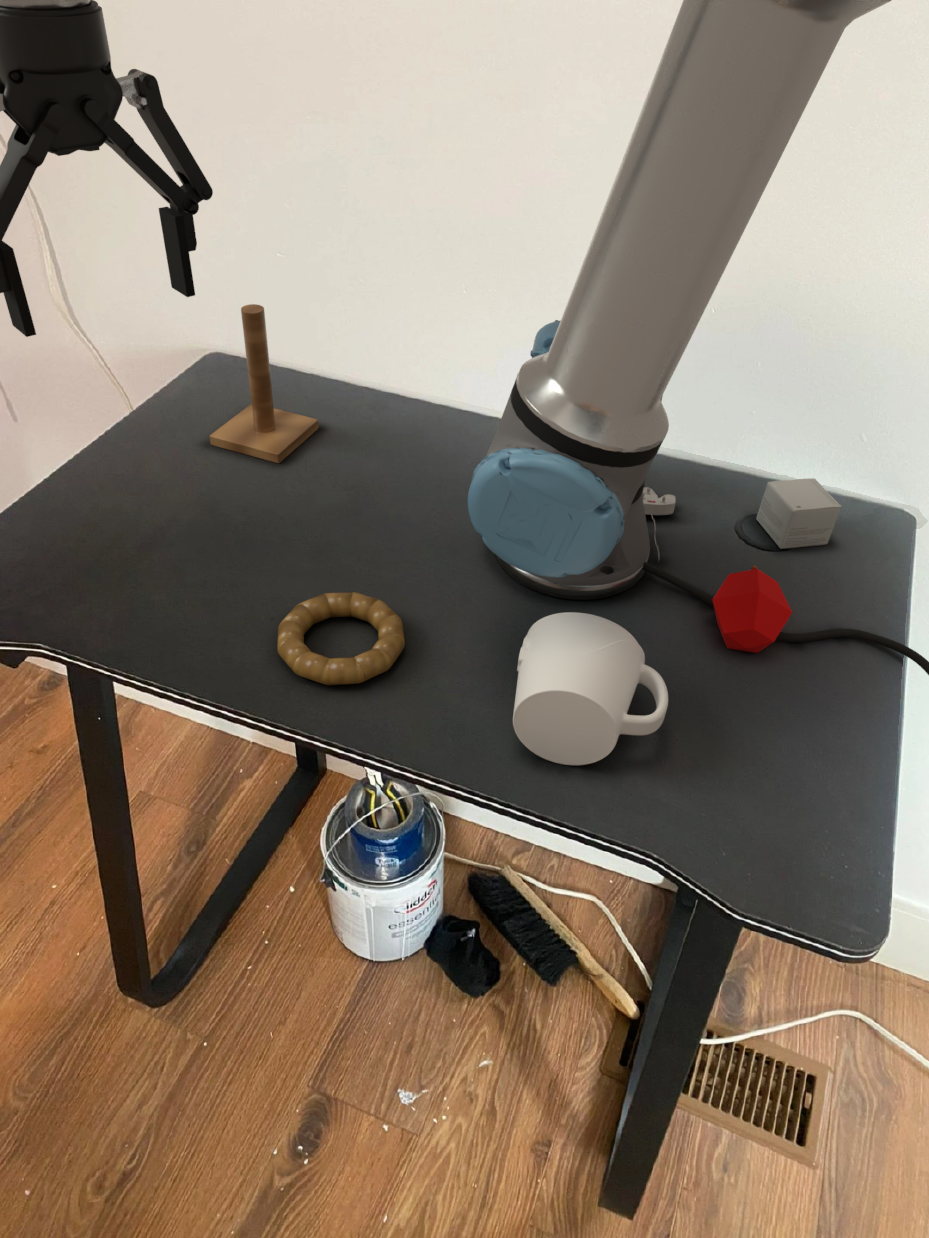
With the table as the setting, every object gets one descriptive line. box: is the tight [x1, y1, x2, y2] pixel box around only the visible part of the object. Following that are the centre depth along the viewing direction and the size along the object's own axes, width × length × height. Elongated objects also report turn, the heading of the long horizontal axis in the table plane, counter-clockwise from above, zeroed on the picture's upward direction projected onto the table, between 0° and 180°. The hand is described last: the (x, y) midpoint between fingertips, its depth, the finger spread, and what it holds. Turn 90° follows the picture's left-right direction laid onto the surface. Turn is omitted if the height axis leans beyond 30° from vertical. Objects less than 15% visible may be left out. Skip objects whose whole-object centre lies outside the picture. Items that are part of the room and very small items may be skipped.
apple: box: [712, 565, 793, 654], centre depth 82 cm, size 7×7×8 cm
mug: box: [512, 611, 669, 766], centre depth 72 cm, size 12×9×8 cm
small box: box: [755, 477, 843, 550], centre depth 95 cm, size 6×6×5 cm
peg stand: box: [209, 303, 320, 464], centre depth 102 cm, size 9×9×15 cm
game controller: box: [642, 486, 677, 563], centre depth 96 cm, size 6×12×3 cm, turn 15°
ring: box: [276, 591, 406, 686], centre depth 79 cm, size 11×11×2 cm
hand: (107, 310), depth 75 cm, fingers open, 13 cm apart
